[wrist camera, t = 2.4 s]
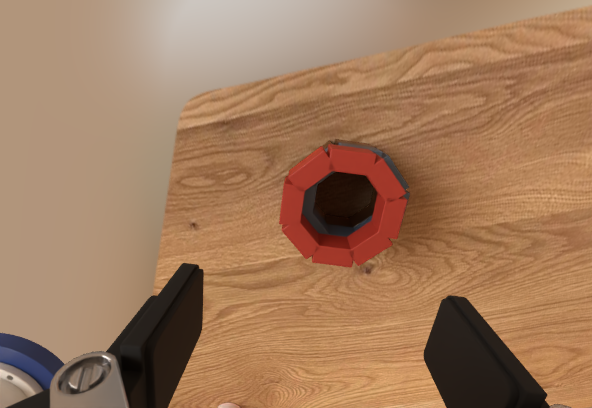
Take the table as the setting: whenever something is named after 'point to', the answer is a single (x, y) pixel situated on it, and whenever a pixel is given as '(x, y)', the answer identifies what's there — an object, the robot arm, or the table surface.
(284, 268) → the table surface
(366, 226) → the ring top
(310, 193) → the ring middle
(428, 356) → the robot arm
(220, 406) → the smoothie
